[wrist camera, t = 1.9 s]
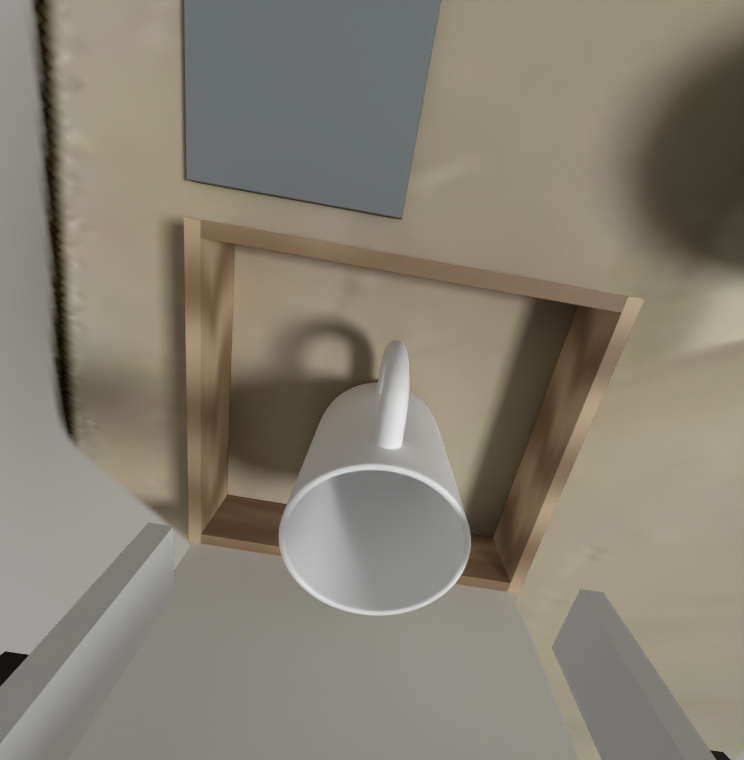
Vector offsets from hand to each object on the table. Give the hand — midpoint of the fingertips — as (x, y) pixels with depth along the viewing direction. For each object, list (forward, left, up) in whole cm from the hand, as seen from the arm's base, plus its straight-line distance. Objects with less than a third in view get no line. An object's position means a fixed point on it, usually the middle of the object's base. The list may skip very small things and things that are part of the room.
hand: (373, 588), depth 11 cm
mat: (-20, -7, -13) cm, 25 cm away
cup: (0, 0, -14) cm, 14 cm away
